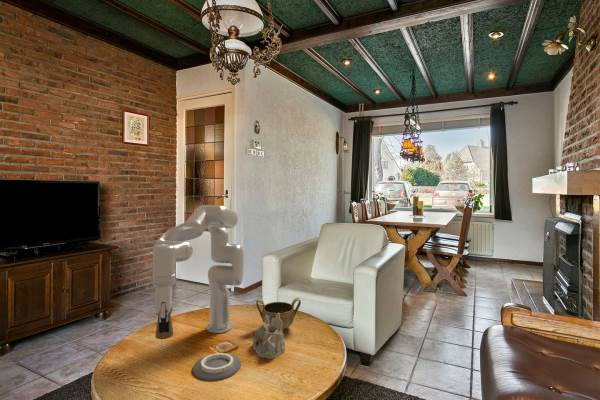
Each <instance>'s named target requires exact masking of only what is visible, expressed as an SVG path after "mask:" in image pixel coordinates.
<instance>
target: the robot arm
mask: <svg viewBox="0 0 600 400" xmlns="http://www.w3.org/2000/svg"><path fill="white" fill-rule="evenodd" d="M238 219H239V218H238V214H237V213H236V212H235V210H234V209H231V208H229V207H227V206H225V205H220V204H215V205H214V204H202V205H199V206H198V207H197V208H196V209H195V210H194V211H193V212H192V213H191V214H190V216H189V217H188V219H186V221H185V222H183V223H180V224H178V225H176V226H174V227H172V228H170V229H168V230H166V231H165V232H163V234H161V236H160V237H159V238H158V239H157V240H156V241H155V244H154V246H153V248H152V285H153V286H155V292H154V293H155V295H154V297H155V301H154V303H155V304H154V305H155V306H154V310H155V311H154V314H155V315H157V316H158V314H159V311H160V322H159V333H163V332H164V331H165V333H166V332H169V321H168V313H169V312H170V309H171V306H172V301H173V285H174V284H176V282H177V281H176V279H177V277H176V268H177V267H176V263H178V262H179V263H180V262H186V261H187V260H189V259H190V258H191V257H192V255H193V252H194V248H193V245H192V244H191V243H190V242H188V241H191V240H195V239H197V238H200V237H201V236H202V235H203V234H204V232H205V231H206V229H207V230H208V231H209V233H210V246H211V247H210V256H211V260H212V261H213V262H214V263H220V264H215V265H212V266H211V267H209V269H208V271H207V280H208V284H209V323H208V324H207V325H206V331H207V332H209V333H211V334H222V333H227V332H229V331H230V330H232V328H233V323H232V322H230V290H229V288H228V287H227V286H234V287H235V286H236V287H238V286H240V285H242V284H243V281H244V275H245V274H244V272H245V268H244V267H245V265H244V263H245V260H244V259H245V257H244V256H245V255H244V254H245V253H244V249H243V246H241V245H240V244H236V243H230V242H229V241H230V240H229V235H230V234H229V232H228V229H234V228H235V227H236V225H237V224H238V221H239V220H238ZM225 264H227V265H225ZM228 264H231V265H228ZM165 311H167V312H165ZM165 314H166V316H165Z"/></svg>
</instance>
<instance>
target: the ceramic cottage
mask: <svg viewBox="0 0 600 400" xmlns="http://www.w3.org/2000/svg"><path fill="white" fill-rule="evenodd" d="M253 339H254V340H253V343H252V348H253V350H254V351H255V353H256V354H257V356H258V357H260V358H262V359H263V358H265V359H269V360H271V359H273V360H274V359H276V358H277V357H279V356H281V355H283V354H284V353H285V351H286V348H287V347H286V341H285V335H284V330H283V323H282V320H280V313H278V314H277V315H276V317H275V318H272V321H271V326H270V324H269V316H267V315H266V316H265V319H264V323H263V322H262V324H261V325H260V327H259V328H258V329H257V330H256V331H255V332H254V338H253Z"/></svg>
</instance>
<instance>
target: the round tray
mask: <svg viewBox="0 0 600 400" xmlns="http://www.w3.org/2000/svg"><path fill="white" fill-rule="evenodd" d="M241 362H242V361H241V359H240V358H239V357H238V356H237V355H236V354H235V355H234V354H231V353H225V352H218V353H212V354H209V355H205V356H203V357H201V358H199V359H198V360H197V361H196V362H195V363H194V365H193V367H192V372H193V375H194V376H195V377H197V378H198V379H201V380H203V381H219V380H224V379H227V378H230V377H232V376H234V375H236V374H237V373H238V372H239V371H240V370H241V365H242V363H241Z"/></svg>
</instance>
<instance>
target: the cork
mask: <svg viewBox="0 0 600 400" xmlns="http://www.w3.org/2000/svg"><path fill="white" fill-rule="evenodd" d="M165 312H167V311H165ZM172 312H173V306H172V305H171V309H170V312H169V313H168V321H169V332H166V333H165V331H164V332H163V333H159V322H160V311H159V314H157V321H156V322H157V323H156V328H155V329H156V330H155V339H157V340H166V339H170V338H172V337H173V336H174V329H173V321H172V315H171V314H172ZM165 316H166V314H165Z"/></svg>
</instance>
